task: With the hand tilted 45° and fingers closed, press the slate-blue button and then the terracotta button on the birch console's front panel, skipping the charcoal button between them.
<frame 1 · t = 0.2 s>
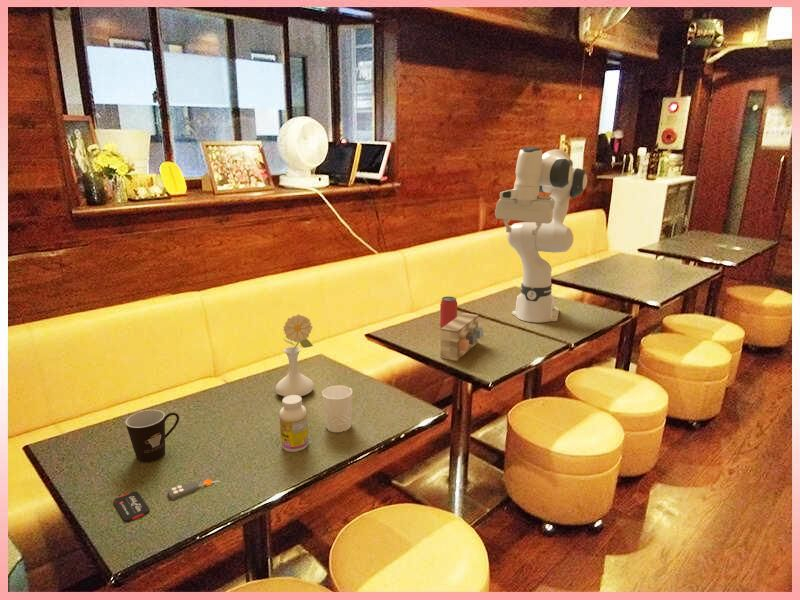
hand: (521, 233, 200), 39 cm above the table, tool pointing down, fingers open, 8 cm apart
terracotta button: (463, 344, 190), point 5 cm above the table, slide at 0.0 cm
console: (459, 349, 198), on the table
black flat block: (131, 508, 117), on the table
supplement bottle: (295, 446, 139), on the table
slate-blue button: (477, 332, 200), point 5 cm above the table, slide at 0.0 cm
coffee mug: (157, 454, 136), on the table
charcoal button: (470, 338, 195), point 5 cm above the table, slide at 0.0 cm
white cup: (338, 426, 148), on the table
beer can: (448, 328, 220), on the table
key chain: (200, 488, 124), on the table
flower in vase: (297, 393, 167), on the table
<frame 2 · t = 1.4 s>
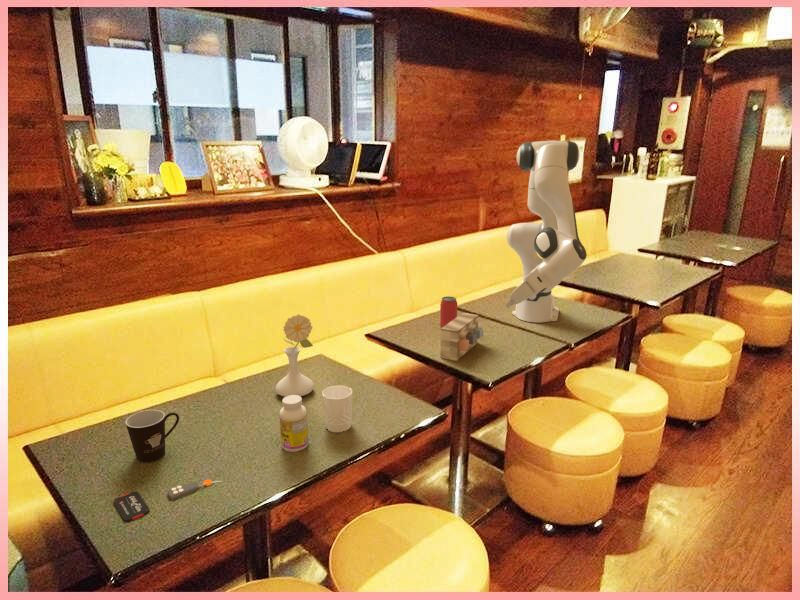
hand: (512, 303, 190), 18 cm above the table, tool tilted 45°, fingers open, 8 cm apart
nothing on the table moved.
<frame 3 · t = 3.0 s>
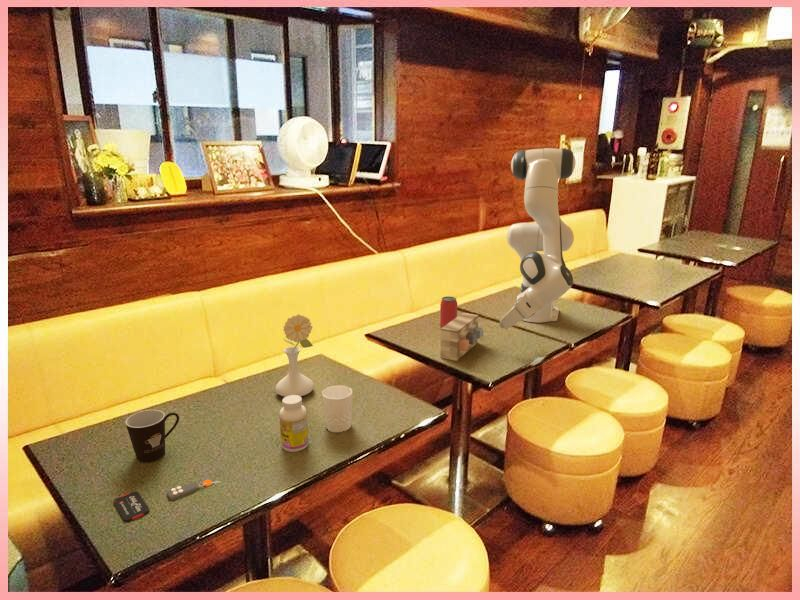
hand: (501, 325, 195), 9 cm above the table, tool tilted 45°, fingers closed
nothing on the table moved.
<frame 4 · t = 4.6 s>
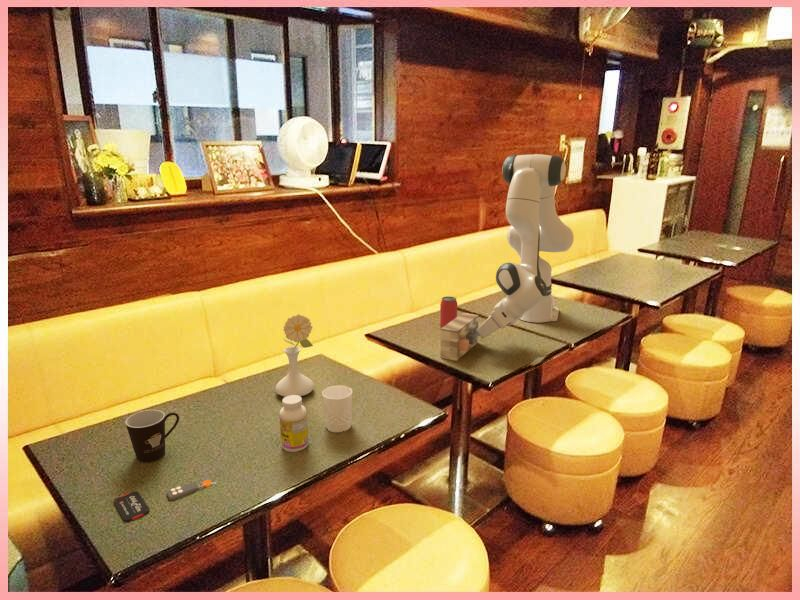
hand: (479, 333, 200), 5 cm above the table, tool tilted 45°, fingers closed, pressing on slate-blue button
slate-blue button: (474, 332, 201), point 5 cm above the table, slide at 1.3 cm, touching gripper
everything else where it was.
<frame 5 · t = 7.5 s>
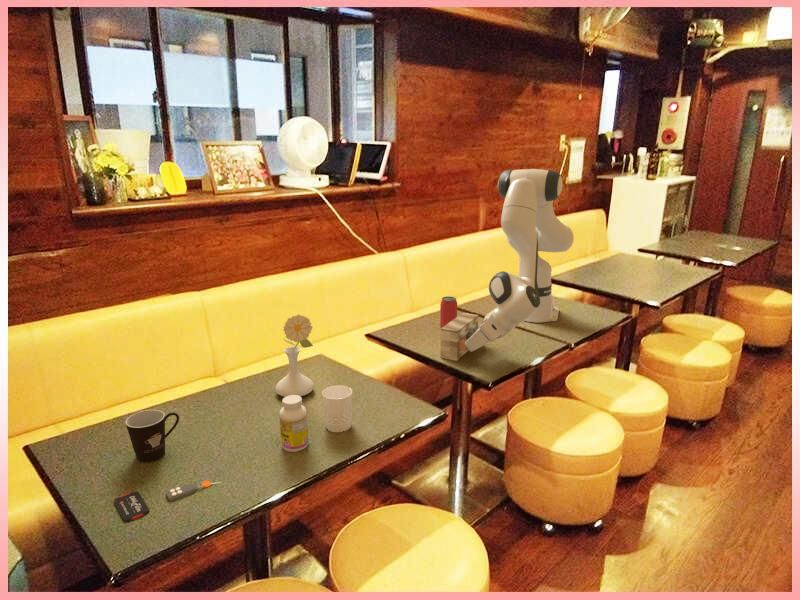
hand: (468, 346, 189), 5 cm above the table, tool tilted 45°, fingers closed, pressing on terracotta button
terracotta button: (462, 344, 190), point 5 cm above the table, slide at 0.1 cm, touching gripper
slate-blue button: (473, 332, 201), point 5 cm above the table, slide at 1.6 cm
everything else where it was.
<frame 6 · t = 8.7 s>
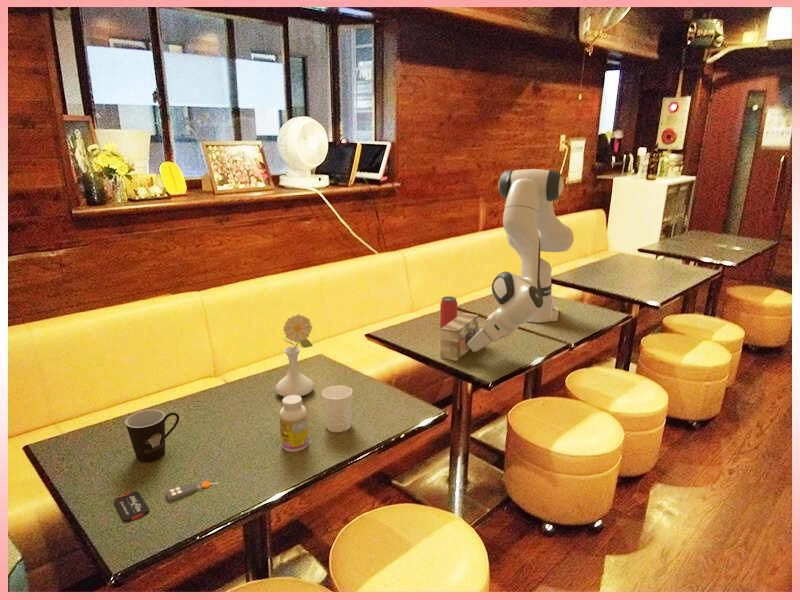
hand: (471, 346, 188), 5 cm above the table, tool tilted 45°, fingers closed
terracotta button: (458, 343, 190), point 5 cm above the table, slide at 1.6 cm
everything else where it was.
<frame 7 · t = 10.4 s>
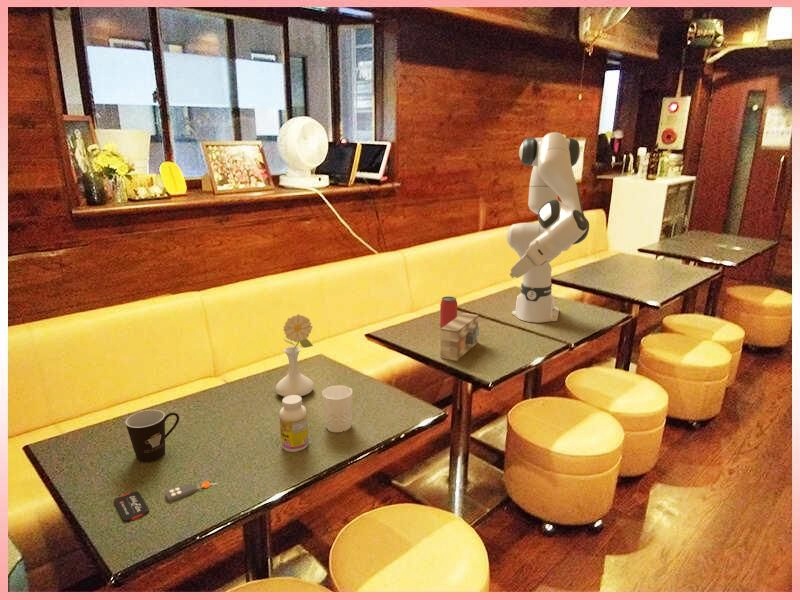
hand: (512, 275, 189), 28 cm above the table, tool tilted 45°, fingers closed
nothing on the table moved.
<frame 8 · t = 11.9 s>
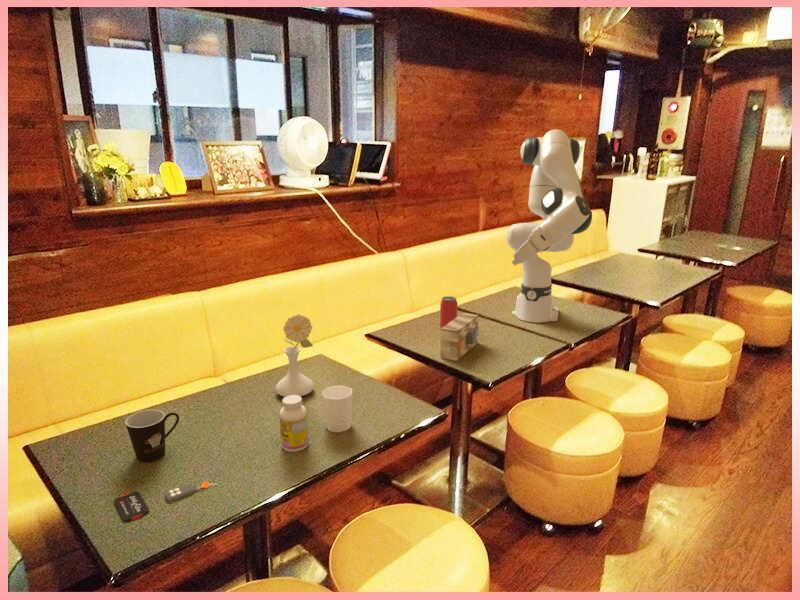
hand: (514, 263, 189), 31 cm above the table, tool tilted 45°, fingers closed
nothing on the table moved.
at the end: slate-blue button slide at 1.6 cm; terracotta button slide at 1.6 cm; charcoal button slide at 0.0 cm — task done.
